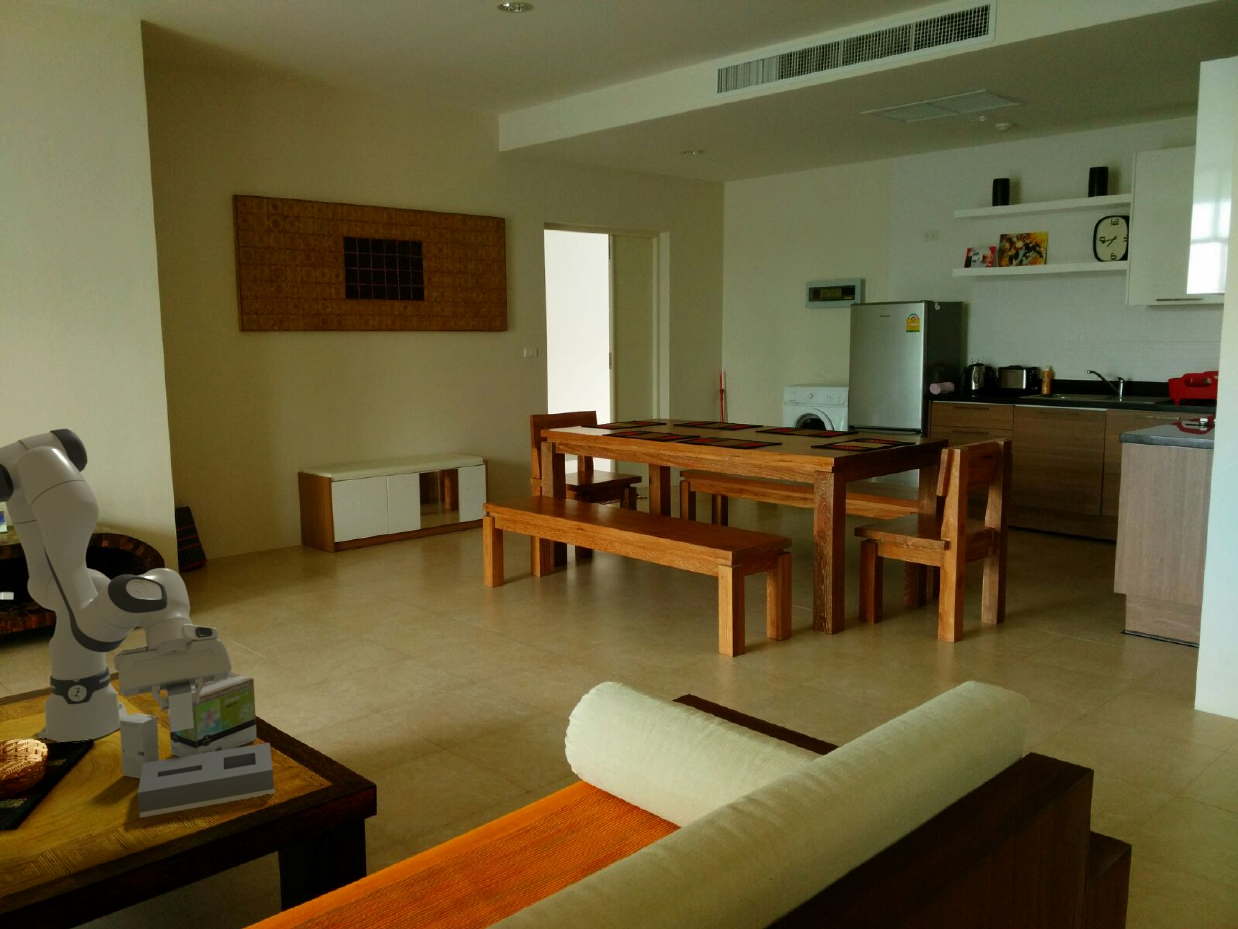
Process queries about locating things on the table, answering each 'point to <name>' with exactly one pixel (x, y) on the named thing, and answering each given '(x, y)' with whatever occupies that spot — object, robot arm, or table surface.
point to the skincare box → (138, 742)
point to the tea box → (219, 718)
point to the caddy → (205, 779)
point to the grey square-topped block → (180, 706)
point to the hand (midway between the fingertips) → (180, 705)
